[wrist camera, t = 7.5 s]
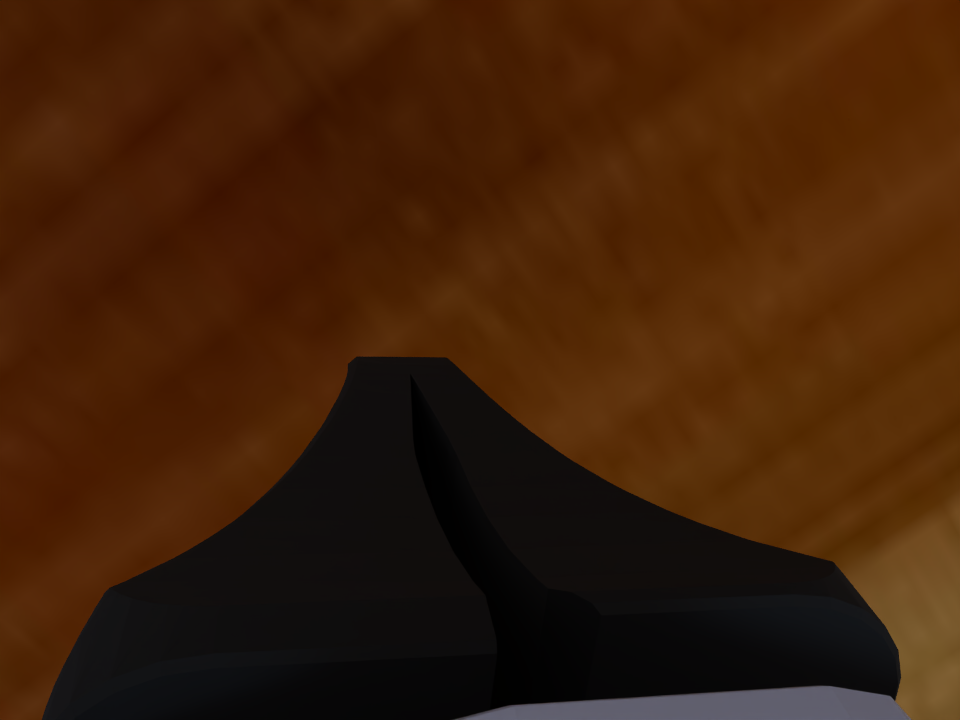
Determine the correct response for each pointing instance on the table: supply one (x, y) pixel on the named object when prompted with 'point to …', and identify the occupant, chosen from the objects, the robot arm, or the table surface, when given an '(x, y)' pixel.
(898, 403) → the table surface
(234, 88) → the table surface
